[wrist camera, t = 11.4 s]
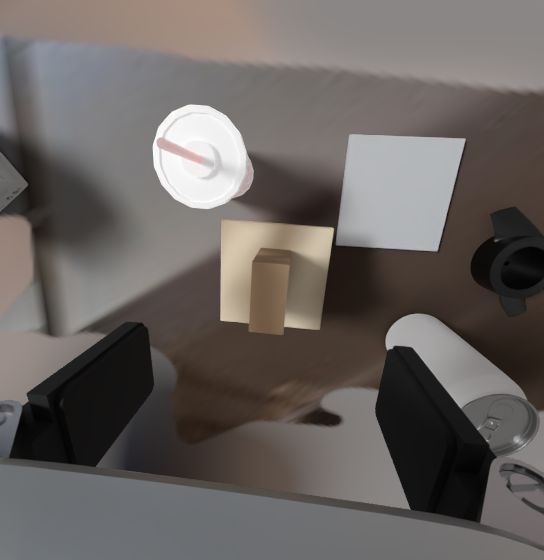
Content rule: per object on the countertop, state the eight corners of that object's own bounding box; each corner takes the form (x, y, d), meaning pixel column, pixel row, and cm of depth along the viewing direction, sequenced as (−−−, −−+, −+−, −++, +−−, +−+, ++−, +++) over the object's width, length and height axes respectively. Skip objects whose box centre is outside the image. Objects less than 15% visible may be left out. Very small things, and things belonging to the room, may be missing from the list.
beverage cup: (265, 202, 25) (238, 204, 12) (206, 209, 26) (118, 219, 13) (257, 133, 24) (214, 48, 10) (193, 143, 24) (76, 74, 11)
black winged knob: (441, 297, 27) (458, 308, 25) (486, 202, 24) (511, 202, 22) (511, 313, 27) (536, 326, 25) (565, 221, 24) (600, 224, 22)
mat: (462, 139, 23) (465, 138, 22) (435, 250, 26) (437, 251, 25) (349, 135, 23) (350, 134, 23) (335, 244, 26) (336, 245, 26)
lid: (332, 227, 21) (347, 237, 15) (318, 325, 24) (327, 364, 18) (223, 219, 21) (200, 225, 16) (222, 316, 24) (202, 351, 18)
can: (455, 322, 28) (569, 407, 16) (425, 369, 30) (509, 474, 18) (400, 303, 28) (477, 377, 16) (374, 352, 30) (426, 447, 18)
